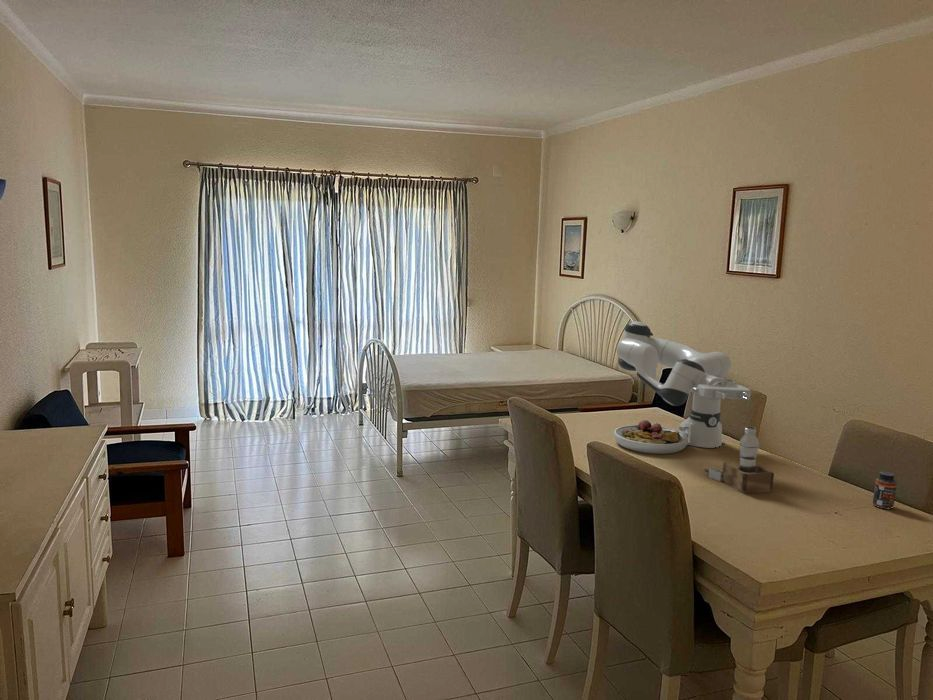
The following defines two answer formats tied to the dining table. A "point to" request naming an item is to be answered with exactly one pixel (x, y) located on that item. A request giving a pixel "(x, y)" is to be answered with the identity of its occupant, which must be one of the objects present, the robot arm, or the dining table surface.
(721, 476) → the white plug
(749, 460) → the plastic bottle
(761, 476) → the end cradle
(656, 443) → the bowl
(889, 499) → the supplement bottle
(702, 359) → the robot arm
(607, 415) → the dining table surface
